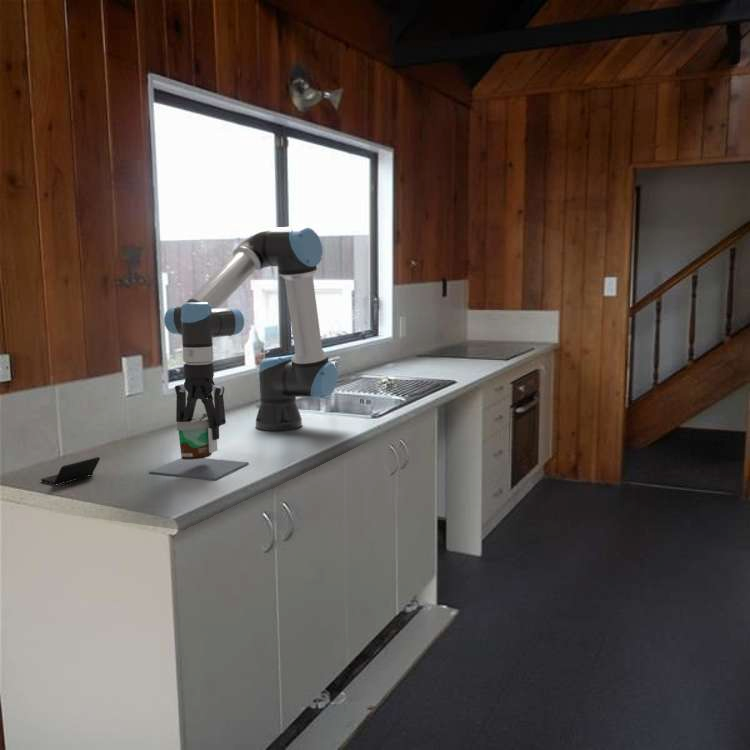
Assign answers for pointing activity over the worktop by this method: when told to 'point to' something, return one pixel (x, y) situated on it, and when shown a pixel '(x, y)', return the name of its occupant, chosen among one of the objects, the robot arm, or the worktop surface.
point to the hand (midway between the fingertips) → (202, 450)
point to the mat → (199, 468)
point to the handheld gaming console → (73, 471)
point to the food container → (194, 438)
